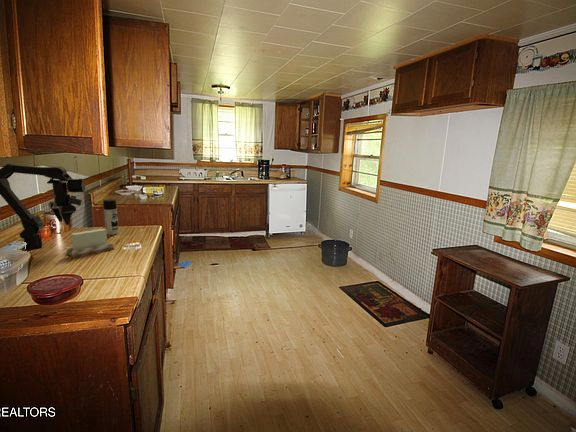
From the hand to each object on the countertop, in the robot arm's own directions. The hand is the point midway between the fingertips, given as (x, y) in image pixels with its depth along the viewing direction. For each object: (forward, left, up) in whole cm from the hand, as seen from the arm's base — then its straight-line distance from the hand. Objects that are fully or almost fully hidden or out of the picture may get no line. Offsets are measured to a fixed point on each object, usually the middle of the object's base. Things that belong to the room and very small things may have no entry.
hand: (64, 223), depth 158 cm
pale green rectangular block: (+5, -17, -11) cm, 21 cm away
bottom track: (+5, -17, -12) cm, 21 cm away
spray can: (+26, +8, -12) cm, 30 cm away
